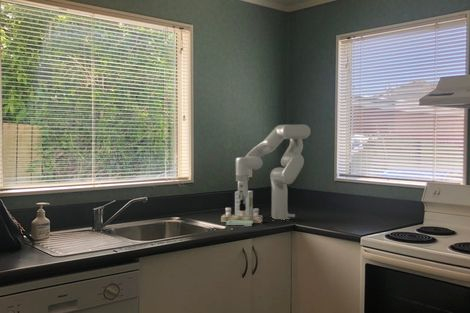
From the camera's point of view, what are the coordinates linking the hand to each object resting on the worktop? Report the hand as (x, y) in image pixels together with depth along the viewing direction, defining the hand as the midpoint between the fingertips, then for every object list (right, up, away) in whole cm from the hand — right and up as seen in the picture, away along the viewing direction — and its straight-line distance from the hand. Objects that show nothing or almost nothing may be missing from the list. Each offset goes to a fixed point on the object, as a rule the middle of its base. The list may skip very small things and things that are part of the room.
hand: (242, 209), depth 275 cm
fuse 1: (-8, -7, +1) cm, 11 cm away
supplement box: (+1, -8, +17) cm, 19 cm away
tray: (-2, -8, -9) cm, 12 cm away
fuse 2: (+7, -7, -1) cm, 10 cm away
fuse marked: (0, -4, 0) cm, 4 cm away
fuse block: (0, -8, 0) cm, 8 cm away
